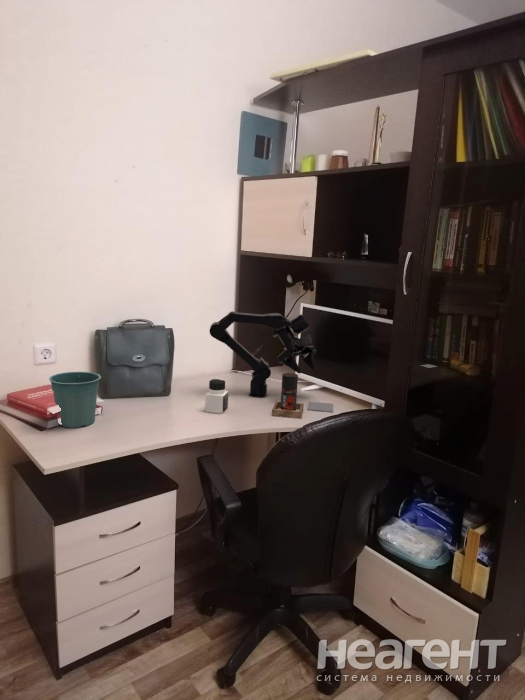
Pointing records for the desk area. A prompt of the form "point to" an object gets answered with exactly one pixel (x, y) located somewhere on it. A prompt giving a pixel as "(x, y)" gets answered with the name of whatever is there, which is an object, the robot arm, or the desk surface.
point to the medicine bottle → (216, 397)
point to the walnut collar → (287, 412)
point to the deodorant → (289, 391)
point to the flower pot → (76, 397)
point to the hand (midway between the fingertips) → (307, 371)
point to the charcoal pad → (320, 407)
